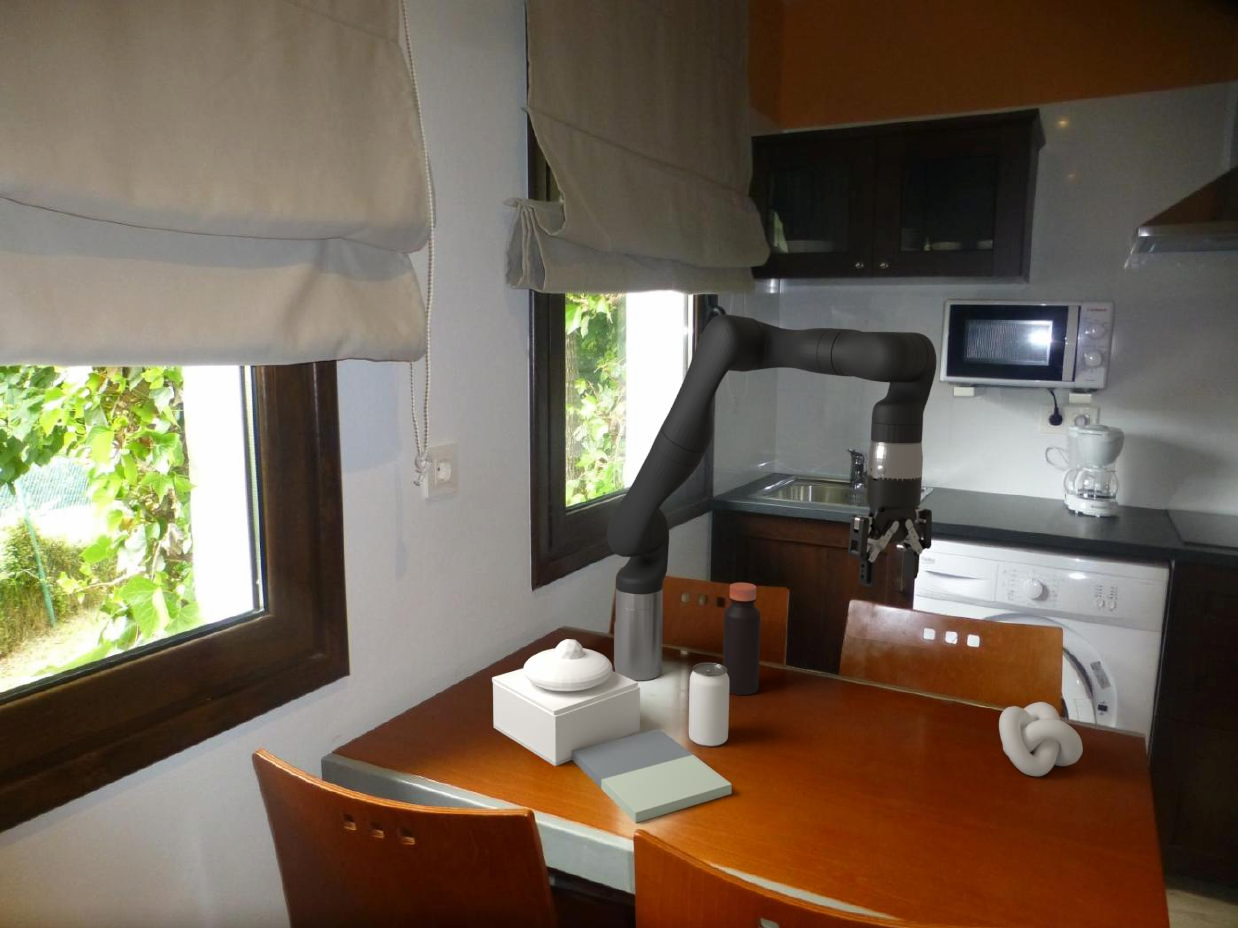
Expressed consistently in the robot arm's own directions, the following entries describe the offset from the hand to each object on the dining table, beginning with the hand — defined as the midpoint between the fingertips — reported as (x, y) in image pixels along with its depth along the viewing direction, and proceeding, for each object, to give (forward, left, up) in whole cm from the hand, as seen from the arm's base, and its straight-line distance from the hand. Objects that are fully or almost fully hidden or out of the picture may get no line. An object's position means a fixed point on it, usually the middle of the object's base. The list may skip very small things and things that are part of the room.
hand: (888, 581), depth 124 cm
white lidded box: (-36, -35, -30) cm, 59 cm away
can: (-22, -16, -30) cm, 41 cm away
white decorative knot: (+9, +23, -30) cm, 39 cm away
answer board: (-16, -31, -30) cm, 46 cm away
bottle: (-36, +1, -30) cm, 47 cm away
